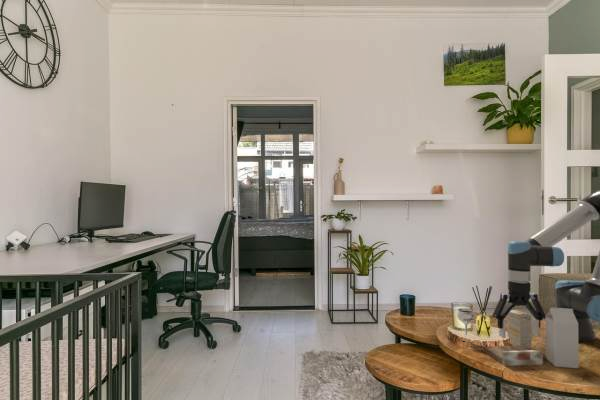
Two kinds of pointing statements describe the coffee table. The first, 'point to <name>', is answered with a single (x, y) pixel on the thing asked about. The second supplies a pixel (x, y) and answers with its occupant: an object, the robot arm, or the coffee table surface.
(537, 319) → the robot arm
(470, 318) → the wineglass
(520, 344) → the supplement box
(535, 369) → the coffee table surface
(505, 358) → the grey flat box
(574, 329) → the milk carton
